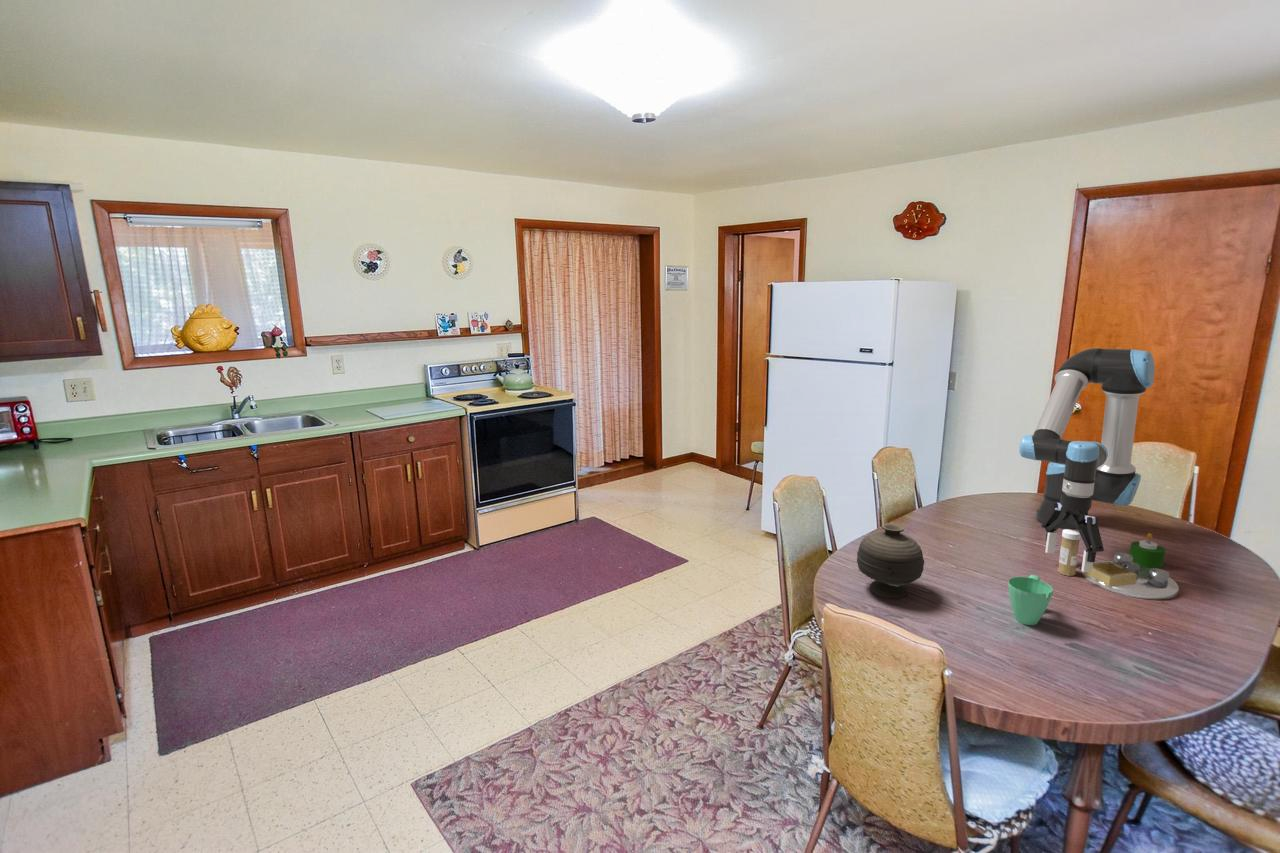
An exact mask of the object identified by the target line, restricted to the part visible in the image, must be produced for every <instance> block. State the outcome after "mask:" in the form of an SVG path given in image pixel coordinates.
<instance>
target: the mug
mask: <svg viewBox="0 0 1280 853" xmlns="http://www.w3.org/2000/svg"><path fill="white" fill-rule="evenodd" d="M1007 583H1008V584H1007V585H1008V586H1007V587H1008V596H1009V601H1010V605H1011V610H1012V612H1013V616H1014V619H1015V621H1017V623H1020V624H1023V625H1025V626H1026V625H1027V626H1036V625H1037V624H1038V623H1039V621H1040V620H1041V618H1042V617H1043V616H1044V614H1045V612H1046V610H1047V608H1048V606H1049V604H1050V602H1051V600H1052V596H1053V593H1054V589H1053V587H1052V586H1051V585H1050V584H1049V583H1047V582H1045V581H1043V580H1041V579H1040V577H1039V576H1038V575H1034V574H1030V575H1029V576H1013V577H1011V578H1009V579H1008V580H1007Z"/></svg>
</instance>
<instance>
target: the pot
mask: <svg viewBox="0 0 1280 853" xmlns="http://www.w3.org/2000/svg"><path fill="white" fill-rule="evenodd" d="M881 529H883V530H878V531H874V532H870V534H867V535H866V536H865V537H864V538H863V539H862V540H860V544H859V546H858V550H857V553H856V556H857V557H856V563H857V568H858V570H859V571H860V572H861V573H862V574H863V575H865V576H866V577H867V578H869V579H871V580H873V581H872V582H871V583H870V585H869V590H870V591H871V593H872V594H873V595H876V596H878V597H882V598H884V599H885V598H886V599H891V600H892V599H896V600H897V599H902V598H904V597H907V595H908V589H907V588H906V586H904V585H908V584H911V583H913V582H916V580H919V579H920V578H921V577H922V574H923V572H924V565H925V559H924V554H923V550H922V548H921V546H920V545H919V544H918V542H917V541H916V540H914V539H913V537H911V536H909V535H907V534H905V533H902V532H904V531H905V527H903V526H902V525H898V524H896V523H889V522H888V523H885V524H881Z"/></svg>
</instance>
